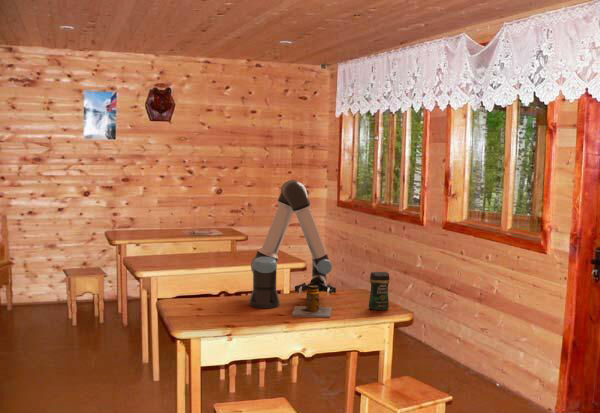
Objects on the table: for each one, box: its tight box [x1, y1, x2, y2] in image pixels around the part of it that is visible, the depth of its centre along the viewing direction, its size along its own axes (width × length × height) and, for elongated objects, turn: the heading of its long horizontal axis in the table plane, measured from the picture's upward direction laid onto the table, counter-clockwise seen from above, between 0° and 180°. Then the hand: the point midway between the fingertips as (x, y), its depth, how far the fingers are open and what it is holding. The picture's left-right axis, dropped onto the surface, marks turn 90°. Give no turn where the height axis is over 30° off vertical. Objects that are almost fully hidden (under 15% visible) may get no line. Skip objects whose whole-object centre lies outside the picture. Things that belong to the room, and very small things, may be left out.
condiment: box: [299, 285, 321, 313], centre depth 311 cm, size 7×8×12 cm
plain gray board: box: [291, 305, 333, 319], centre depth 312 cm, size 18×16×1 cm
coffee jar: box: [368, 271, 391, 311], centre depth 321 cm, size 10×8×19 cm
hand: (313, 292), depth 312 cm, fingers open, 13 cm apart
